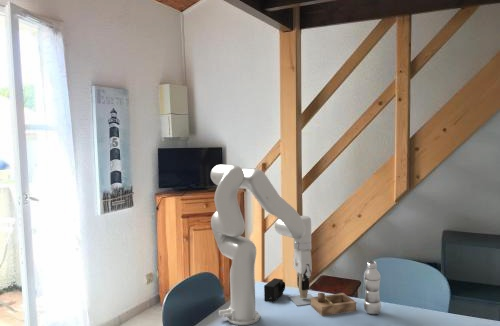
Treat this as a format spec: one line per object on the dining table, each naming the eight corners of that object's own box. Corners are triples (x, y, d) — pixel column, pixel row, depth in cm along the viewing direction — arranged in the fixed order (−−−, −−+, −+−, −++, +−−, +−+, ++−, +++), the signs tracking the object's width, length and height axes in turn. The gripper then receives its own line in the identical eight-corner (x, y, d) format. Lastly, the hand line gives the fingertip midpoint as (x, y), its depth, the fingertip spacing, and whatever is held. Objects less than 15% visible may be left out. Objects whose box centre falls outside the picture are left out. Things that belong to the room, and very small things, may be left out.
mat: (297, 306, 166) (297, 305, 166) (288, 297, 176) (288, 296, 176) (319, 303, 169) (319, 302, 169) (309, 294, 178) (309, 293, 178)
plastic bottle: (363, 315, 156) (362, 264, 155) (364, 308, 162) (364, 259, 161) (380, 317, 154) (380, 265, 153) (381, 310, 160) (380, 260, 159)
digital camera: (275, 303, 170) (275, 287, 169) (264, 301, 172) (264, 285, 172) (285, 295, 179) (285, 279, 178) (274, 293, 181) (274, 277, 181)
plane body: (321, 316, 156) (321, 299, 156) (310, 305, 166) (310, 290, 166) (356, 310, 160) (356, 294, 160) (343, 301, 170) (343, 286, 170)
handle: (310, 299, 169) (310, 264, 168) (295, 298, 170) (294, 263, 170) (311, 295, 174) (311, 261, 173) (296, 294, 175) (296, 260, 174)
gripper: (287, 241, 178) (288, 282, 179) (302, 251, 162) (302, 295, 163) (303, 240, 180) (303, 280, 181) (319, 249, 164) (319, 293, 165)
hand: (303, 287), depth 172 cm, fingers closed on handle, 3 cm apart
